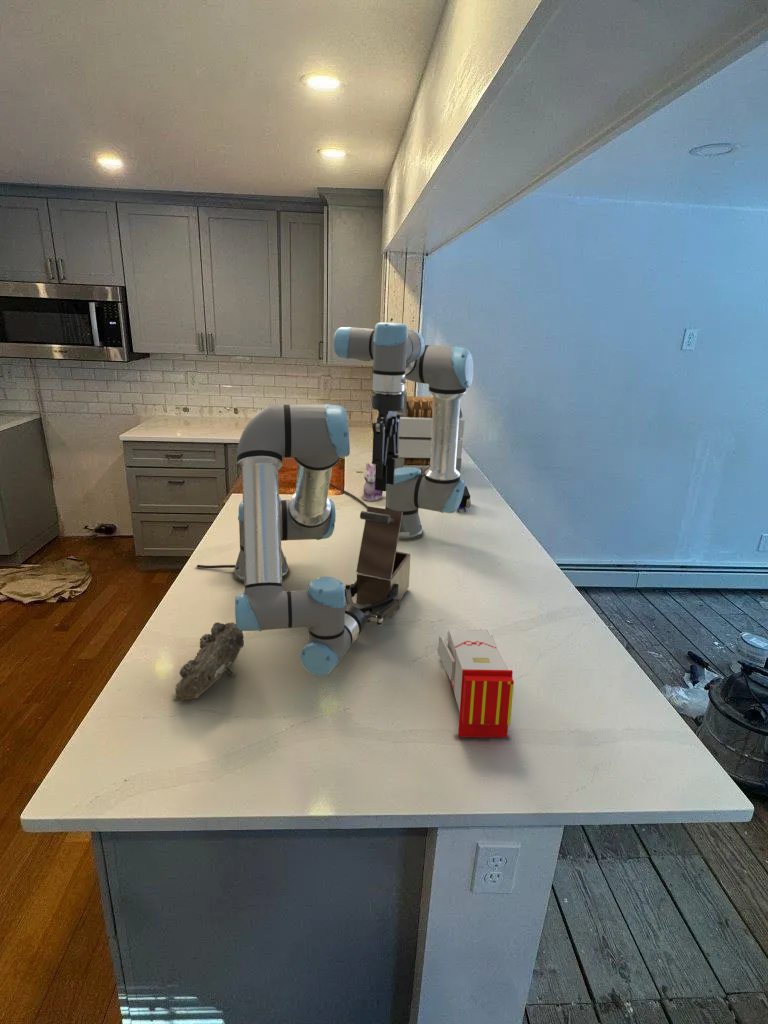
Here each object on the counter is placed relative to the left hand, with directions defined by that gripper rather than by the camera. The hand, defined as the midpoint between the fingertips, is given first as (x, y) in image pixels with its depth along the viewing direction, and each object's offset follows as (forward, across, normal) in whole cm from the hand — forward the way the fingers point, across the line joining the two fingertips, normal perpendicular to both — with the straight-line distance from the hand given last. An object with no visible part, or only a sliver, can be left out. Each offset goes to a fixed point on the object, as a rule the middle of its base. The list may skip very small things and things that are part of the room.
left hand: (379, 585), depth 149 cm
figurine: (+84, -34, -6) cm, 91 cm away
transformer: (+130, -27, -6) cm, 133 cm away
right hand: (+1, 0, +27) cm, 27 cm away
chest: (+4, 0, -6) cm, 7 cm away
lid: (-1, 0, +12) cm, 12 cm away
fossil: (-41, -22, -6) cm, 47 cm away
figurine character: (+89, +2, -6) cm, 89 cm away
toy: (-26, +30, -6) cm, 40 cm away
